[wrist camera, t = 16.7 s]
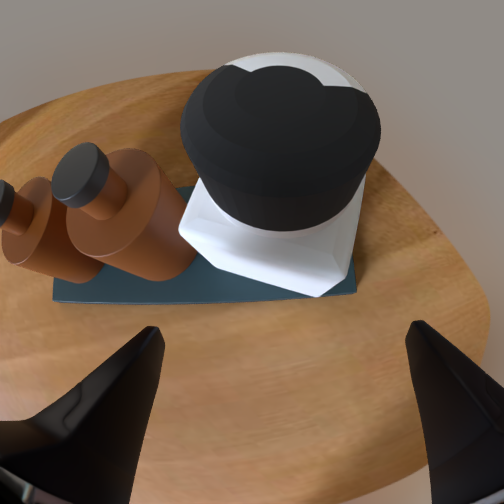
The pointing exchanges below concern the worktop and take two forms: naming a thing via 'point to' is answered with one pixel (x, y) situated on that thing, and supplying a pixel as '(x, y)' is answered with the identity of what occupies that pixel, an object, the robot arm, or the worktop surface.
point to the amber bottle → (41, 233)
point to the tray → (182, 285)
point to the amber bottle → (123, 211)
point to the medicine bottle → (278, 168)
